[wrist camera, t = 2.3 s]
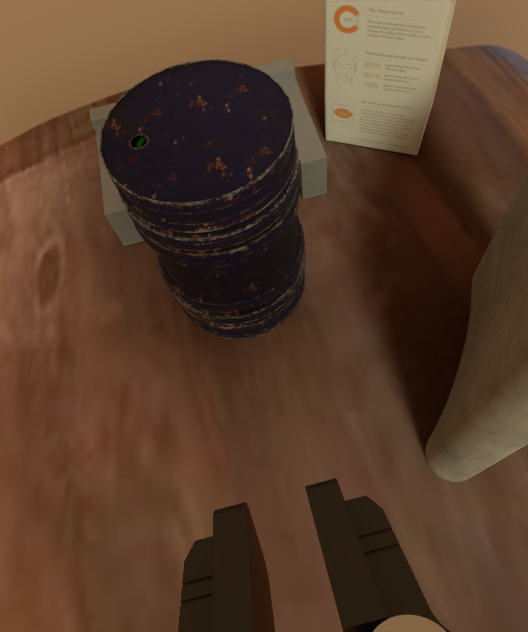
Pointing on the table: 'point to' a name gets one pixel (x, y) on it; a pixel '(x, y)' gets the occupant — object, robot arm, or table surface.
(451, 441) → the hip flask
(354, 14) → the small box
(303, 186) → the grey u-shaped frame
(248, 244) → the black ribbed barrel
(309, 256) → the table surface
